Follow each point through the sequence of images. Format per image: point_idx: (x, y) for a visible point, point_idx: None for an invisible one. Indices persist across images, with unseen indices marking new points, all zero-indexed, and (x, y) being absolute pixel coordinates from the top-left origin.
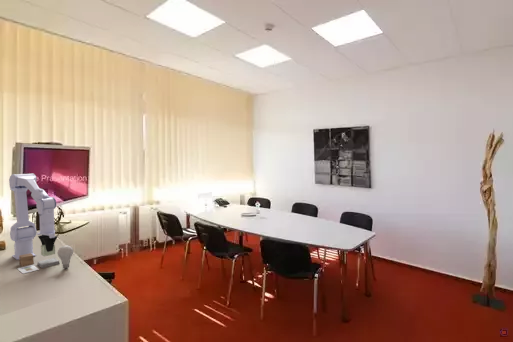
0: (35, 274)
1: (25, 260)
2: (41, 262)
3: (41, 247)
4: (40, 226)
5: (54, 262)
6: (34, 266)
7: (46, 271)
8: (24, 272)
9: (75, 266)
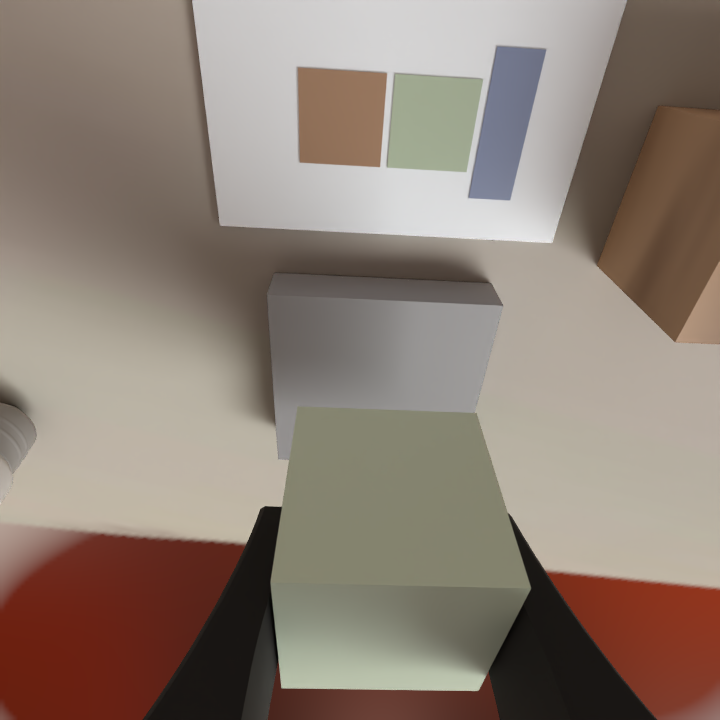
0: (4, 110)
1: (690, 188)
2: (404, 326)
3: (472, 544)
4: None
5: (276, 414)
6: (432, 229)
7: (61, 259)
8: (234, 7)
9: (49, 478)
